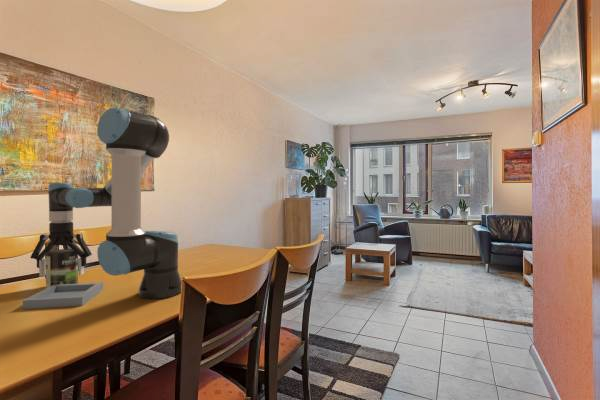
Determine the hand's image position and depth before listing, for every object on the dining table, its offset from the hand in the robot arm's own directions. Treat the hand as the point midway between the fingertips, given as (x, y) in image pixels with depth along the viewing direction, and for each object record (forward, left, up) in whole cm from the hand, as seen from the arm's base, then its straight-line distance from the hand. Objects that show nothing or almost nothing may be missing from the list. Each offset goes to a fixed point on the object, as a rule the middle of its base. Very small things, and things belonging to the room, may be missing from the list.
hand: (62, 275), depth 124 cm
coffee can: (0, 0, -5) cm, 5 cm away
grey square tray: (-9, +16, -4) cm, 19 cm away
